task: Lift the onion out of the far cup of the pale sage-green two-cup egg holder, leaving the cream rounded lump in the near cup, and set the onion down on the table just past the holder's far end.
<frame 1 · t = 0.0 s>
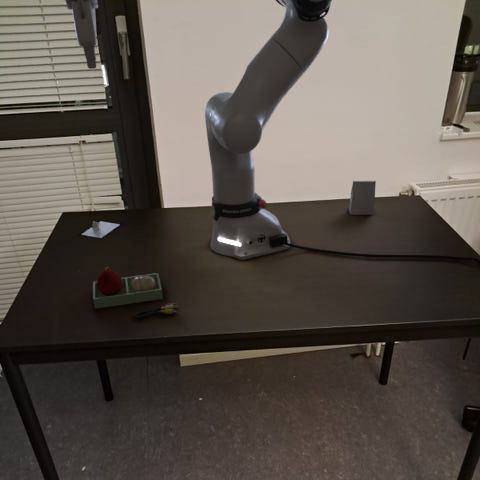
hand: (92, 64, 112), 48 cm above the table, tool pointing down, fingers open, 8 cm apart
onion: (112, 297, 123), resting on egg holder
egg holder: (128, 295, 124), on the table
grey rectangular block: (360, 212, 161), on the table
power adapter: (101, 230, 155), on the table
cream rounded lump: (144, 292, 125), resting on egg holder
composite cable: (157, 314, 118), on the table
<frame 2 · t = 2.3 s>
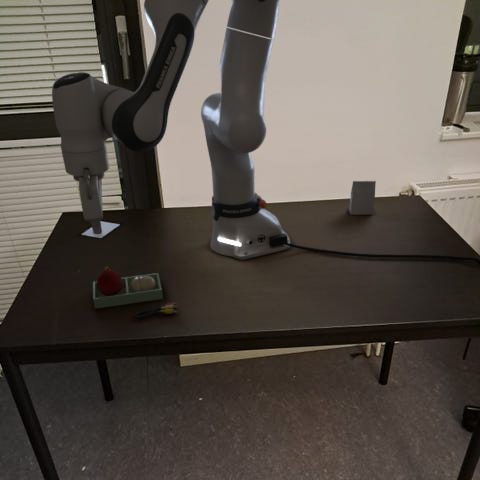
hand: (97, 223, 113), 19 cm above the table, tool pointing down, fingers open, 8 cm apart
nothing on the table moved.
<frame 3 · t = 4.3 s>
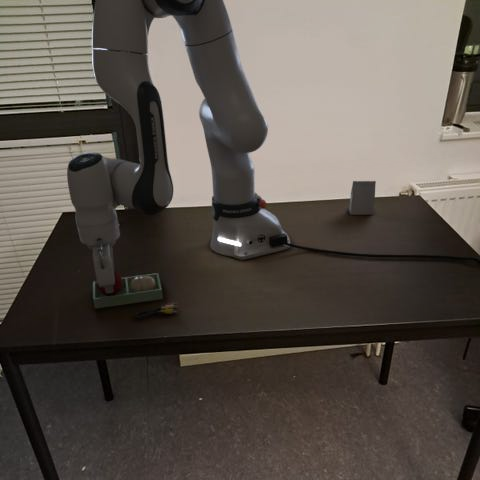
hand: (109, 283, 121), 4 cm above the table, tool pointing down, fingers closed on onion, 6 cm apart
onion: (112, 297, 123), resting on egg holder, touching gripper
everything else where it was.
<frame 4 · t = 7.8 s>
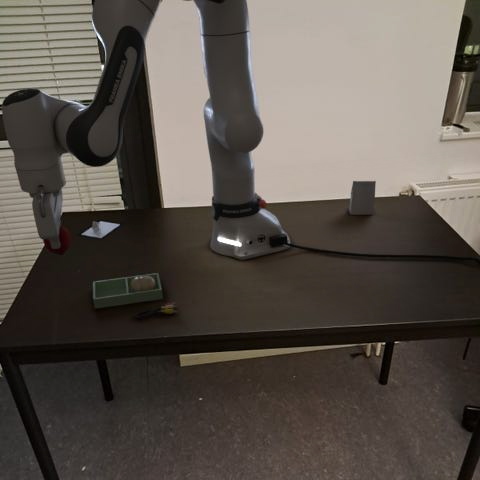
hand: (57, 239, 111), 17 cm above the table, tool pointing down, fingers closed on onion, 6 cm apart
onion: (61, 255, 113), point 13 cm above the table, touching gripper
everything else where it was.
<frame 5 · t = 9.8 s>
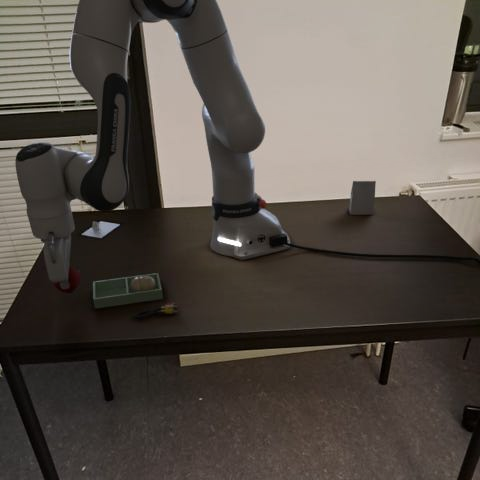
hand: (66, 279, 117), 7 cm above the table, tool pointing down, fingers closed on onion, 6 cm apart
onion: (70, 293, 119), point 3 cm above the table, touching gripper
everything else where it was.
when the fingers open (4 cm above the table, at t = 11.3 s): onion stays where it is, on the table.
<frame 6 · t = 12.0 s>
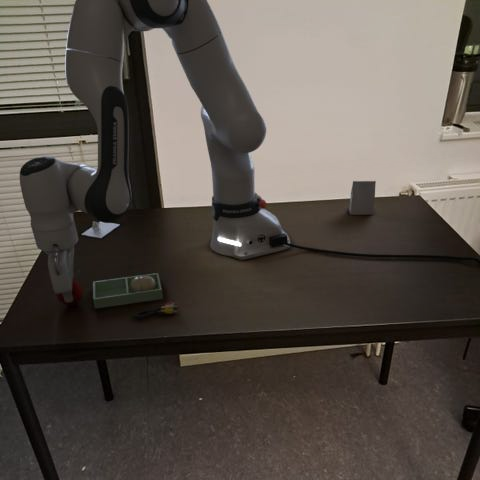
hand: (70, 289, 119), 4 cm above the table, tool pointing down, fingers open, 8 cm apart
onion: (73, 306, 121), on the table
everything else where it was.
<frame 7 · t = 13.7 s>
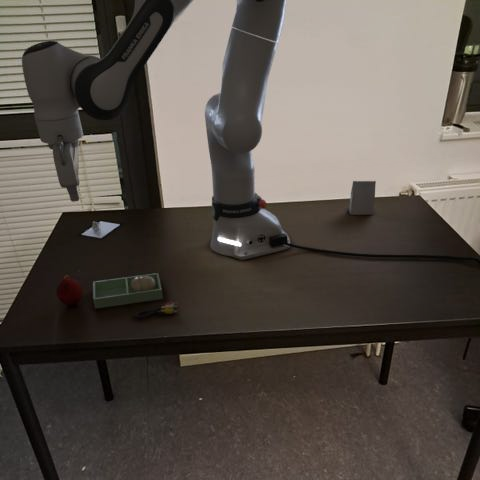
hand: (75, 192, 116), 24 cm above the table, tool pointing down, fingers open, 8 cm apart
nothing on the table moved.
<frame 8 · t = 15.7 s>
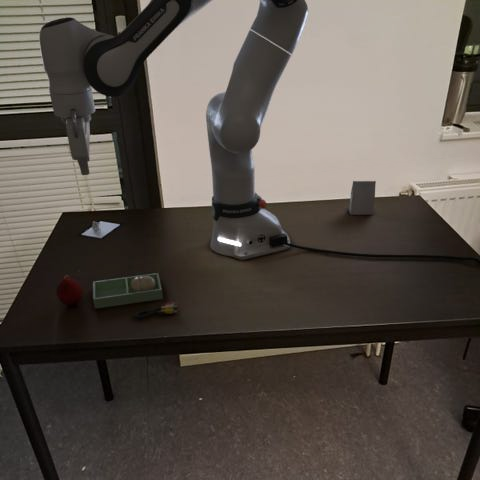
hand: (85, 167, 119), 27 cm above the table, tool pointing down, fingers open, 8 cm apart
nothing on the table moved.
at the end: onion inside the target area (0.2 cm from its centre), on the table; onion touching table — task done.
